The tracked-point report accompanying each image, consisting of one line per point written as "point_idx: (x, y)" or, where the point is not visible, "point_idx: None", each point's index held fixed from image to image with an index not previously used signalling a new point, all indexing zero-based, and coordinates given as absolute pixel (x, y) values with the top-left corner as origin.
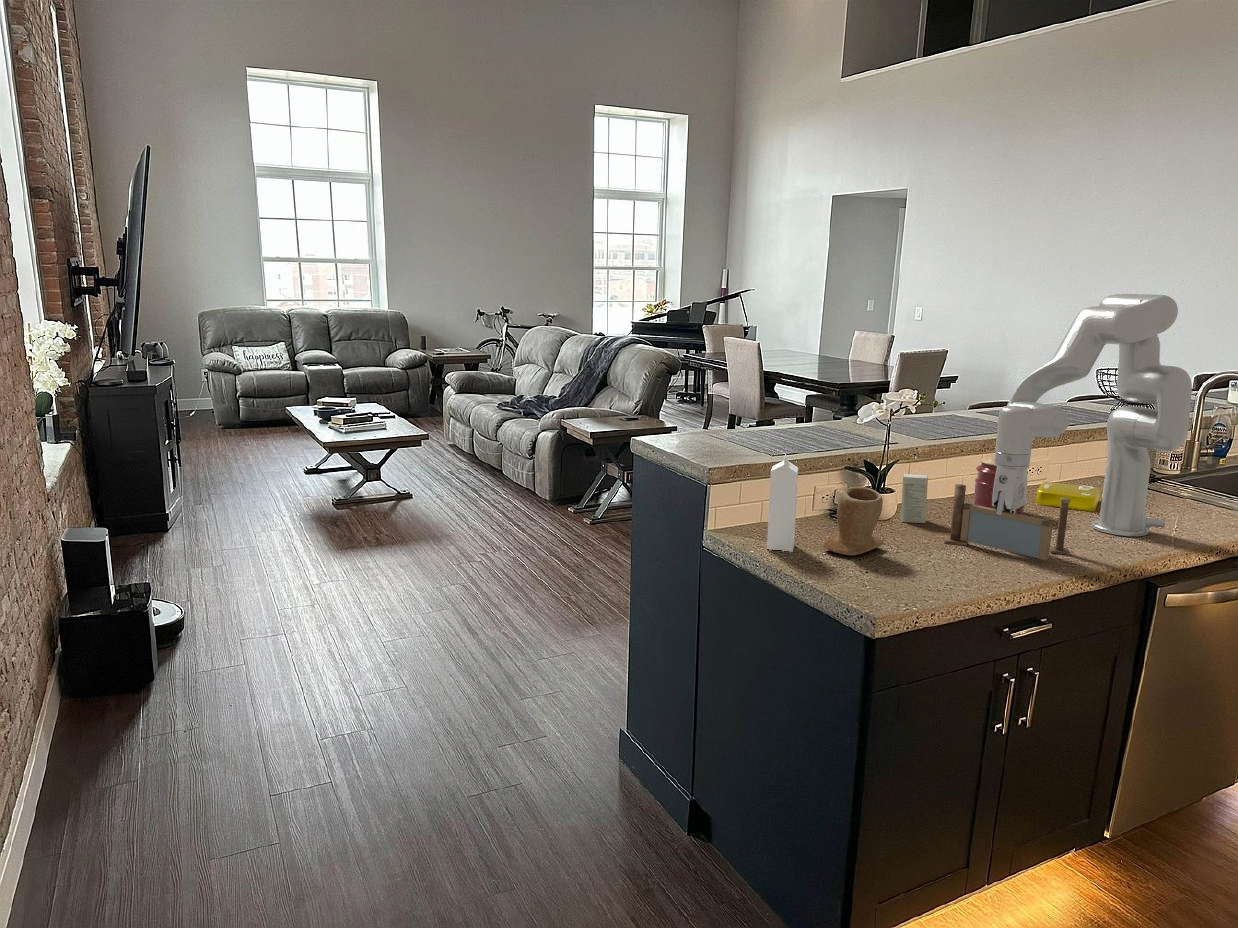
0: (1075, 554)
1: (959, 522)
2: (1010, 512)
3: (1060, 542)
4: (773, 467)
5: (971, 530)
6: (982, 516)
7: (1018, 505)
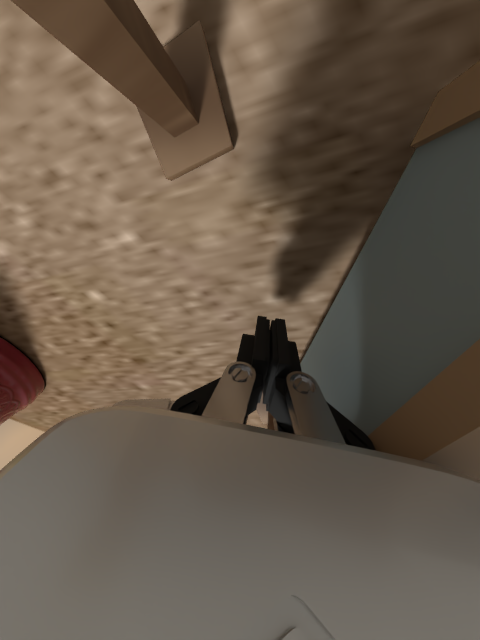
0: (163, 4)
1: None
2: (440, 459)
3: (173, 79)
4: None
5: None
6: None
7: (363, 495)
